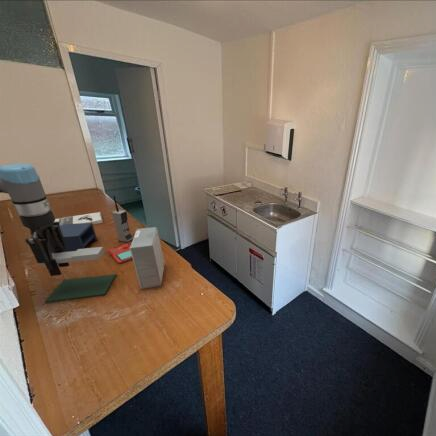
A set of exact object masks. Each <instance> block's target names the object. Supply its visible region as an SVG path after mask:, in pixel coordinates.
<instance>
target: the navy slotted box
mask: <svg viewBox="0 0 436 436" xmlns="http://www.w3.org/2000/svg"><path fill="white" fill-rule="evenodd" d="M60 229H61V232H62V234H63V237H64V240H65V242H66V246H64V247H67V249H66V250H64V252H71V251H77V250H78V249H85V247H86V246H87V245H88V244H89V243H90V242H95V241H98V237H97V234H96V231H95V228H94V225H93V224H92V223H77V224H63V225H61V226H60ZM49 244H50V243H49ZM50 248H51V253H53V252H55V250H54V249H53V248H52V246H51V245H50Z"/></svg>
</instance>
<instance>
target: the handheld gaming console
mask: <svg viewBox="0 0 436 436" xmlns="http://www.w3.org/2000/svg"><path fill="white" fill-rule="evenodd" d="M130 246H131V244H129V243H128V242H126V243H123V244H121V245H118V246H114V247H112V248H108V249H107V253H108V254H109V256H111V257H112V259H114V260H115V262H116V263H117V264H119V265H121V264H123V263H127V262H129V261H133V259H132V255H131V251H130Z"/></svg>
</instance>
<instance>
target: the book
mask: <svg viewBox="0 0 436 436" xmlns="http://www.w3.org/2000/svg"><path fill="white" fill-rule="evenodd" d="M103 220H104V219H103V216H102V213H101V211H97V212H92V213H85V214H78V215H73V216H72V215H71V216H65V217H59V218H55V221H54V222H59V224H60V226H61V225H63V224H77V223H92V224H93V226H94V225H100V224H103V223H104V221H103Z"/></svg>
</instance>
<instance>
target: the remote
mask: <svg viewBox="0 0 436 436" xmlns="http://www.w3.org/2000/svg"><path fill="white" fill-rule="evenodd" d="M51 253H52V252H51ZM105 253H106V251H105V247H104V246H98V247H97V246H96V247H86V248H85V247H84V249H78V250H77V251H71V252H60V253H52V257H53V259H55V260H56V262H57V264H58V263H66V262H68V263H78V262H87V261H96V260H100V259H101V258H102V256H103V255H104V254H105ZM35 261H36V264H37V266H46V265H45V263H38V262H37V260H35Z"/></svg>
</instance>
